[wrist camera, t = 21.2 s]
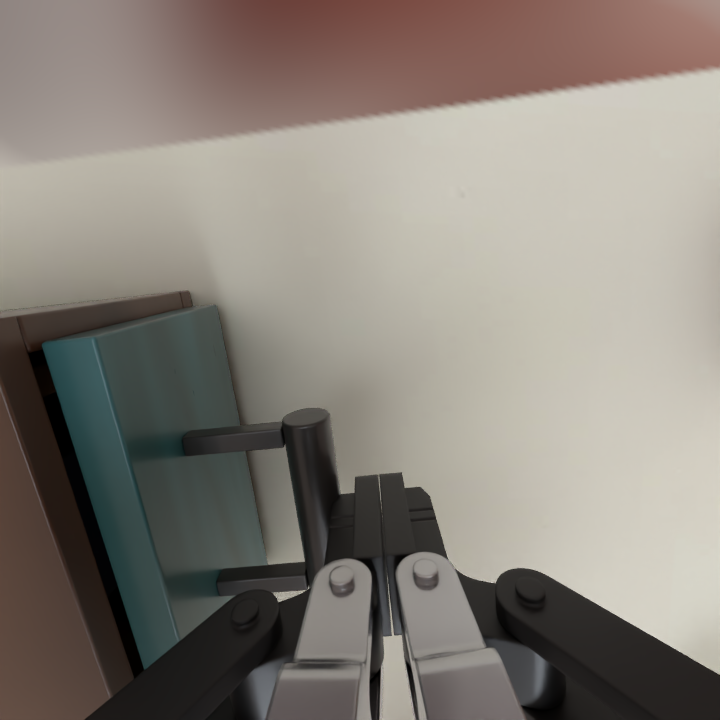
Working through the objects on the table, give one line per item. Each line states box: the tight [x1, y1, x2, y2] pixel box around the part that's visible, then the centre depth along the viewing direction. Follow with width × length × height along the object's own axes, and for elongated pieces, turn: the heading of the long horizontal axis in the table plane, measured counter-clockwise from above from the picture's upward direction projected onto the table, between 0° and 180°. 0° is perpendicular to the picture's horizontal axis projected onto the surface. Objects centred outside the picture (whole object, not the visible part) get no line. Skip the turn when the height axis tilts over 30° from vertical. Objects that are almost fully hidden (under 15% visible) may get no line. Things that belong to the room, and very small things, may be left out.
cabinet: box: [0, 291, 192, 720], centre depth 13 cm, size 12×14×9 cm
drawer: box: [28, 304, 341, 678], centre depth 13 cm, size 15×12×7 cm
